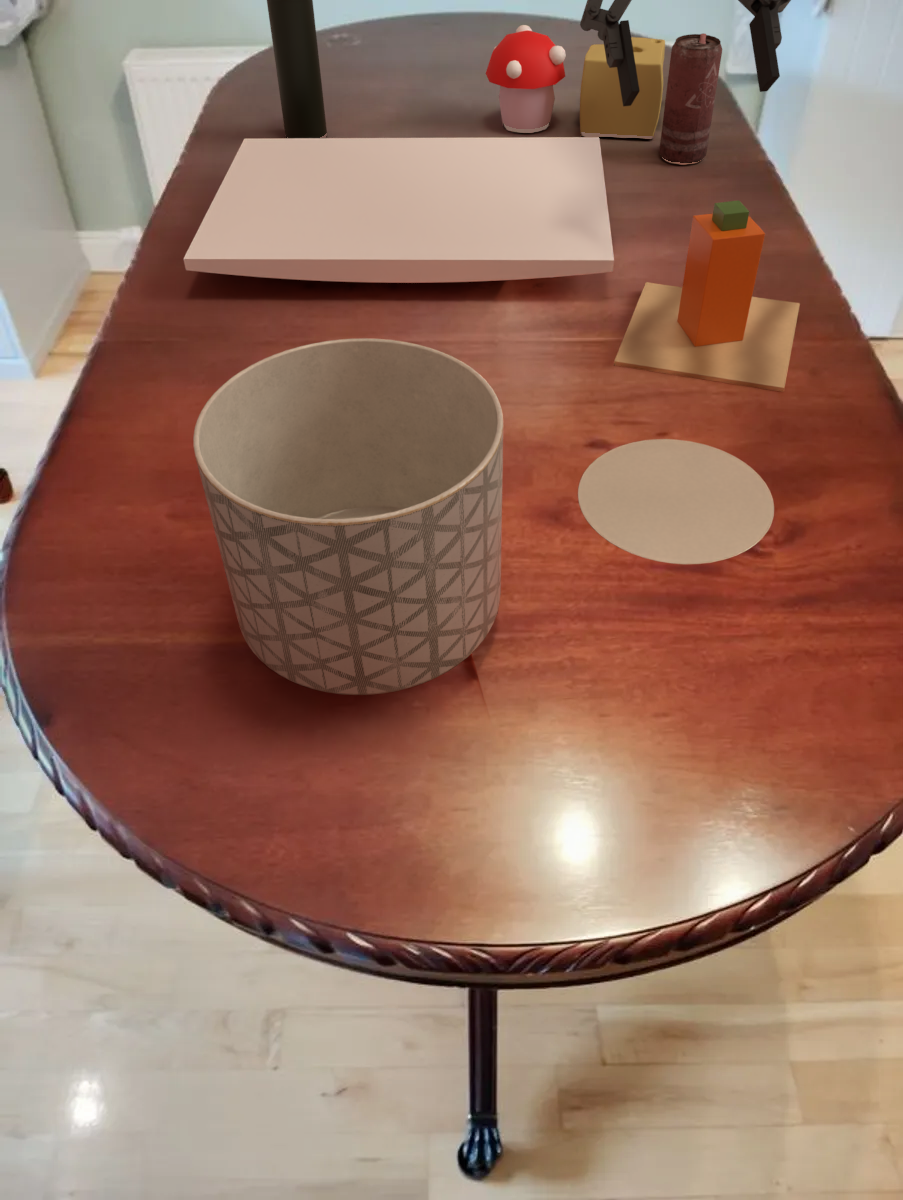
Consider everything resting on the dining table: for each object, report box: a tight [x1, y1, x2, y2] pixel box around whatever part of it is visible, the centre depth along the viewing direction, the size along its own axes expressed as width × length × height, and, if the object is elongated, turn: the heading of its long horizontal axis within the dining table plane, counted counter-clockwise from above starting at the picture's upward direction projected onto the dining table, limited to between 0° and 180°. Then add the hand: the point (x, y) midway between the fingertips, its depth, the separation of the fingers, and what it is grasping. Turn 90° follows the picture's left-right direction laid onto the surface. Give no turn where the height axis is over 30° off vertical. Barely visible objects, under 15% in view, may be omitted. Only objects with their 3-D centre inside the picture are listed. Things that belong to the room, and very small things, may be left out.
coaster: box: [613, 281, 801, 393], centre depth 100 cm, size 16×16×1 cm
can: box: [658, 33, 723, 163], centre depth 126 cm, size 6×6×14 cm
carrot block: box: [677, 199, 766, 347], centre depth 95 cm, size 5×5×13 cm
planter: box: [192, 337, 504, 696], centre depth 68 cm, size 19×19×18 cm
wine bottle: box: [266, 0, 328, 138], centre depth 128 cm, size 6×6×30 cm
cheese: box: [579, 36, 666, 137], centre depth 135 cm, size 10×11×10 cm
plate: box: [577, 438, 775, 565], centre depth 83 cm, size 16×16×1 cm
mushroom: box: [485, 24, 567, 129], centre depth 136 cm, size 11×11×12 cm
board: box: [182, 136, 615, 284], centre depth 117 cm, size 45×32×5 cm
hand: (701, 92), depth 93 cm, fingers open, 13 cm apart
